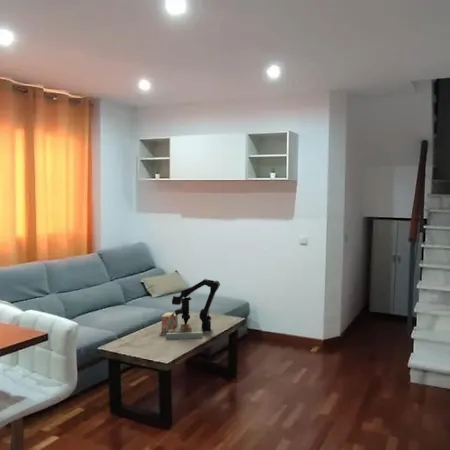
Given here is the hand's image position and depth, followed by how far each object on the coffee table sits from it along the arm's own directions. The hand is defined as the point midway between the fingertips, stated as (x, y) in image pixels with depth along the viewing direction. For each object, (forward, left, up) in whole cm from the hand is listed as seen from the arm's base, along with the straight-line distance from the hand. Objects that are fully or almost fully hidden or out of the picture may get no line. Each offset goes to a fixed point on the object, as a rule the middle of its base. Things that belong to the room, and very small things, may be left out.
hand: (185, 324), depth 382 cm
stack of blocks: (+12, -2, -3) cm, 13 cm away
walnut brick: (0, +11, -3) cm, 11 cm away
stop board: (+2, +24, -2) cm, 25 cm away
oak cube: (+11, +18, -3) cm, 21 cm away
